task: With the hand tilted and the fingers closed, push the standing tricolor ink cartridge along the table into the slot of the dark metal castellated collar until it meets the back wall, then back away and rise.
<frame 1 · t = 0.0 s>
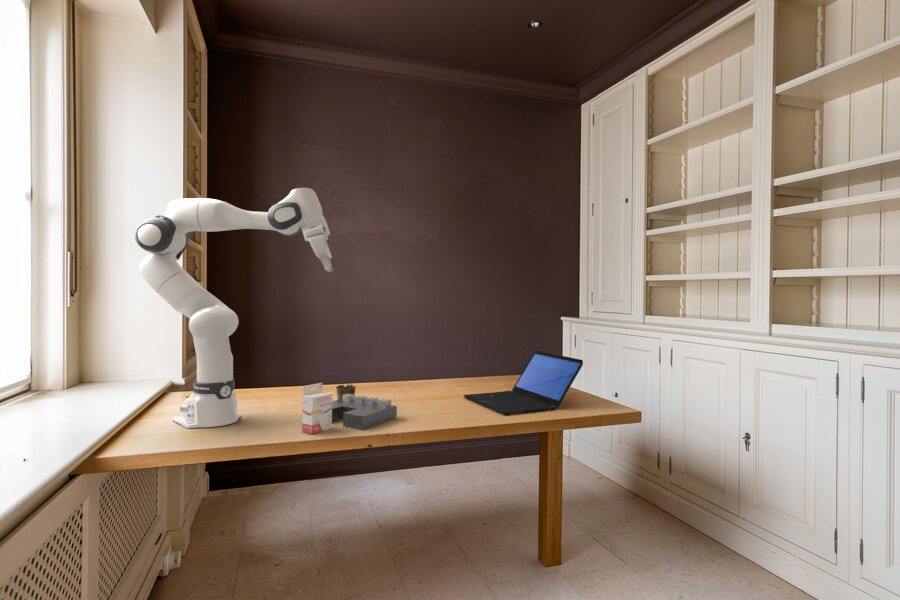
hand: (329, 270, 169), 52 cm above the table, tool tilted 20°, fingers open, 8 cm apart
ink cartridge box: (317, 431, 155), on the table
laptop: (521, 404, 199), on the table
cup: (345, 406, 189), on the table
castellated collar: (355, 418, 170), on the table
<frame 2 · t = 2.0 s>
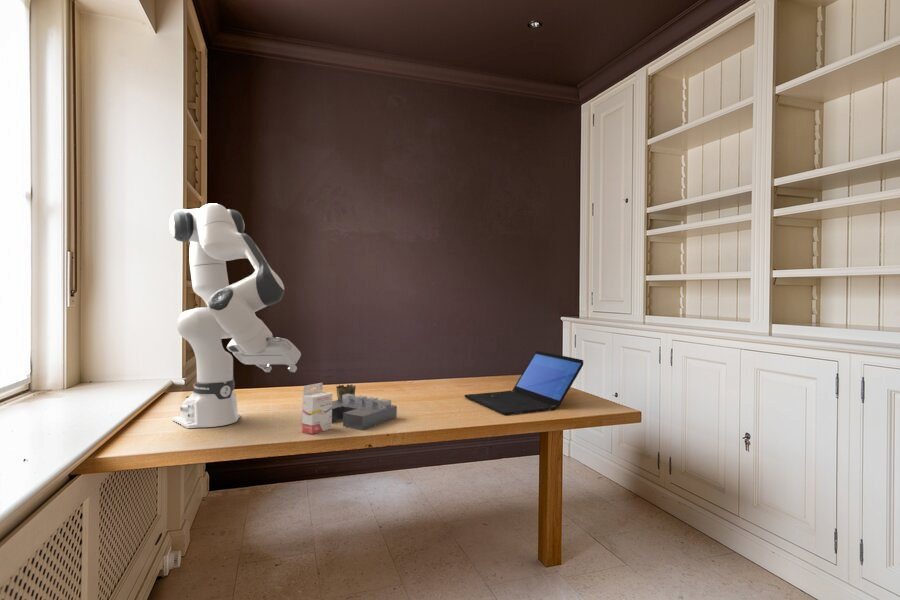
hand: (281, 370, 141), 21 cm above the table, tool tilted 45°, fingers open, 8 cm apart
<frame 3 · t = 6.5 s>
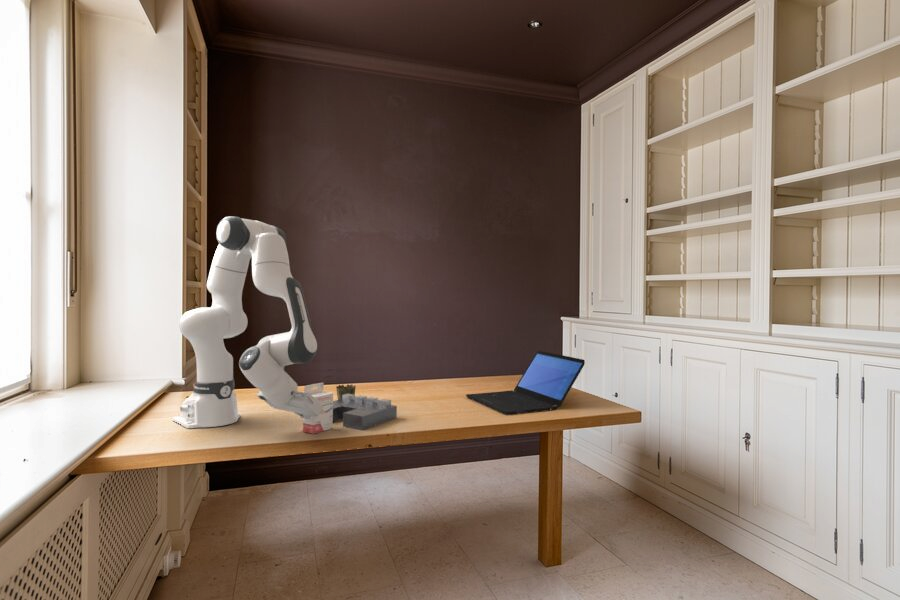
hand: (306, 416, 151), 5 cm above the table, tool tilted 45°, fingers closed, pressing on ink cartridge box
ink cartridge box: (318, 430, 155), on the table, touching gripper
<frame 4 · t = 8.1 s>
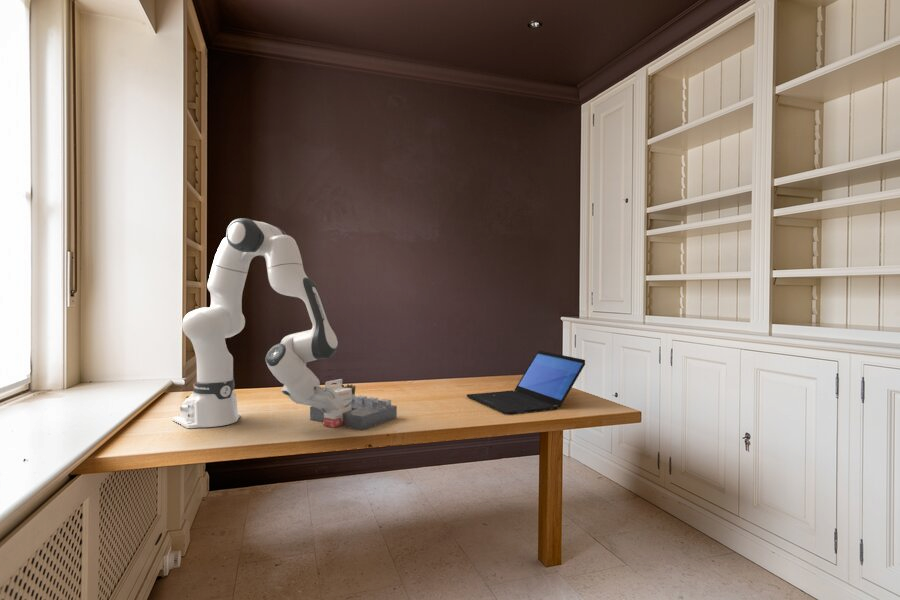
hand: (327, 411, 158), 5 cm above the table, tool tilted 45°, fingers closed, pressing on ink cartridge box
ink cartridge box: (337, 424, 163), on the table, touching gripper
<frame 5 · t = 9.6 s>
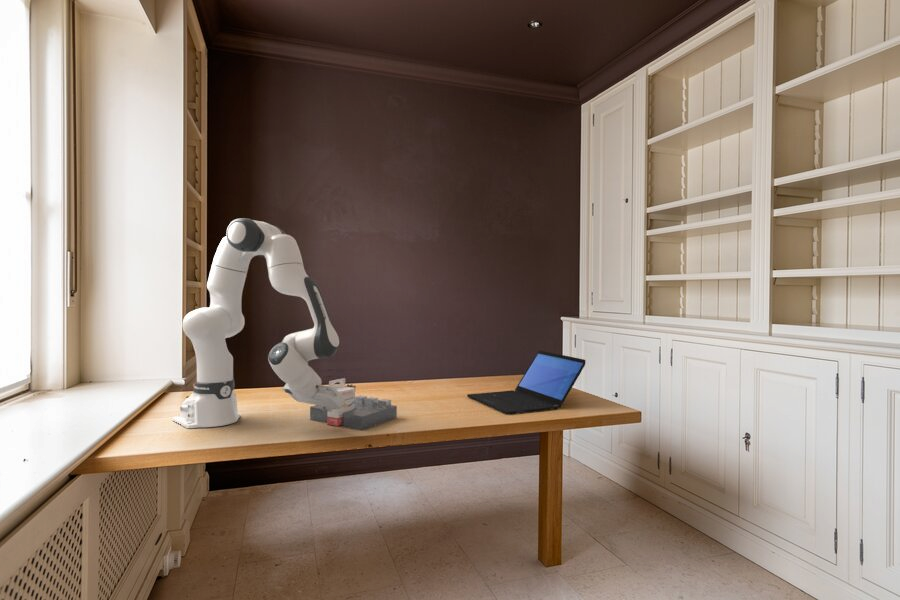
hand: (328, 409, 160), 6 cm above the table, tool tilted 45°, fingers closed
ink cartridge box: (341, 423, 164), on the table
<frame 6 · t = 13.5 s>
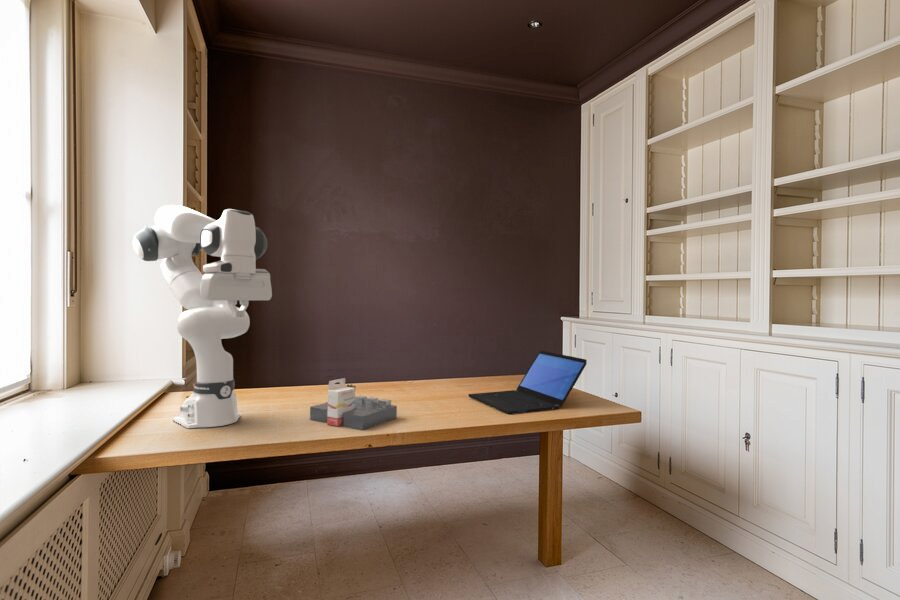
hand: (238, 317, 135), 37 cm above the table, tool pointing down, fingers closed
at the end: ink cartridge box 0.6 cm from the target spot, on the table; ink cartridge box tilted 0° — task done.
